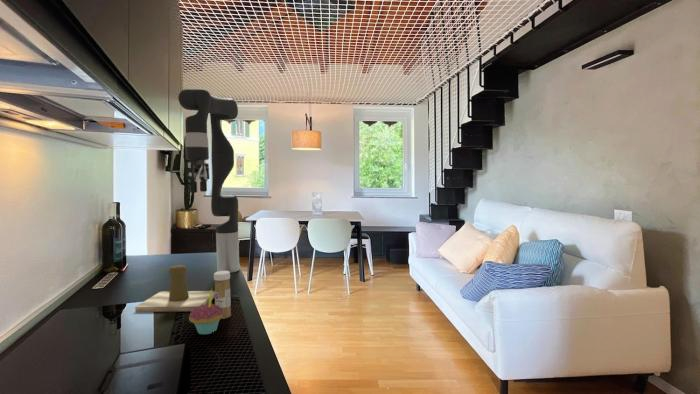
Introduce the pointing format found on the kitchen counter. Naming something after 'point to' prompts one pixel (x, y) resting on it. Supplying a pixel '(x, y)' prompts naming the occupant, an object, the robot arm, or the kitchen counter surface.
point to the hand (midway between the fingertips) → (198, 192)
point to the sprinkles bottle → (223, 292)
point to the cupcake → (206, 317)
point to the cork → (178, 283)
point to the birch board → (163, 304)
